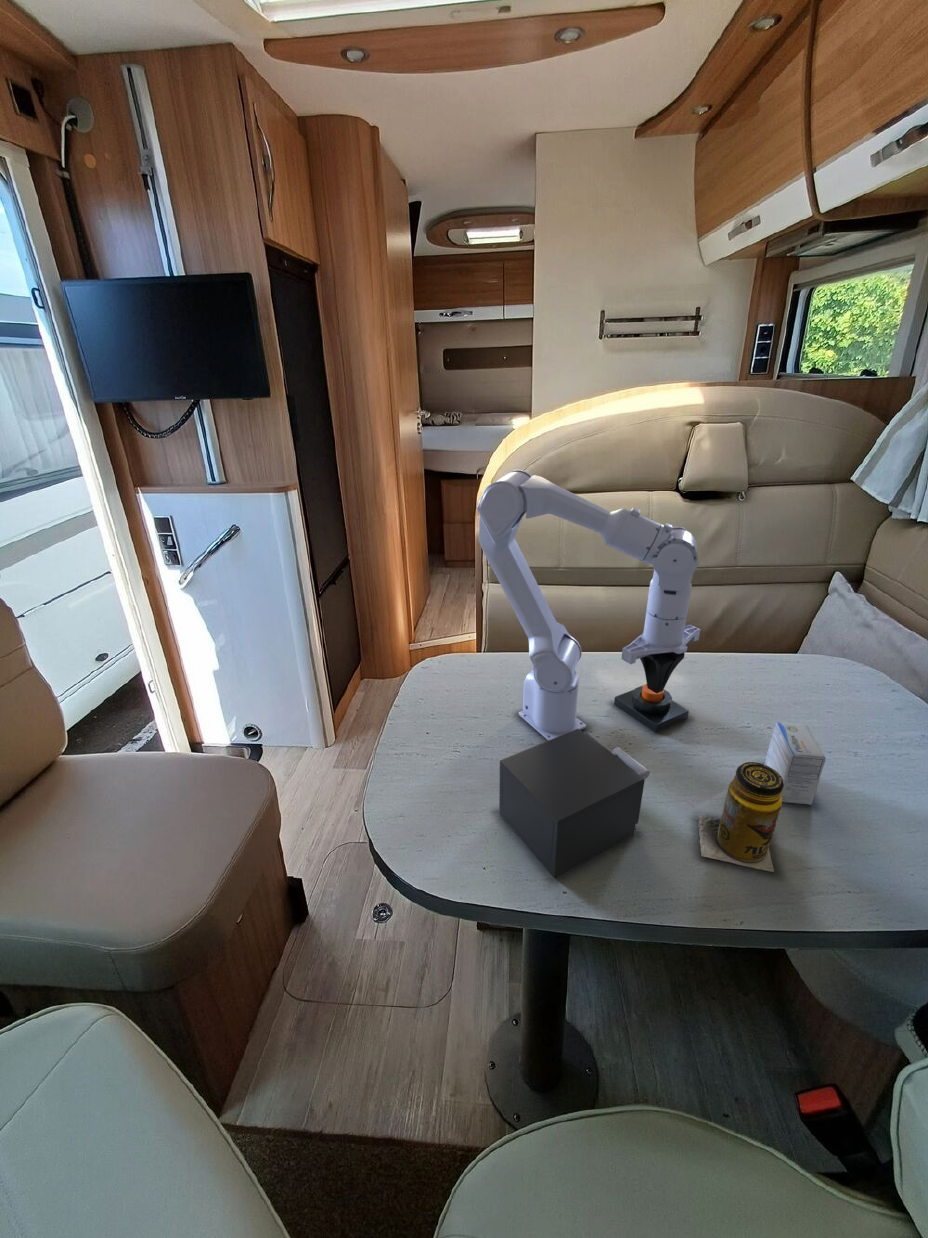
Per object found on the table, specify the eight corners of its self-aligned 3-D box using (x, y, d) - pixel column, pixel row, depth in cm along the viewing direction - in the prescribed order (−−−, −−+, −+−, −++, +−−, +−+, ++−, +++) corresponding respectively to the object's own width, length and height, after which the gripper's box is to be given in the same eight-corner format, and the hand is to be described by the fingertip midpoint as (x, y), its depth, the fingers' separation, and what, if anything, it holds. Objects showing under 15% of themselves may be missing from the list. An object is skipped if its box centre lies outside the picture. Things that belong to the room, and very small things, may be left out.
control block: (613, 704, 103) (615, 688, 101) (645, 691, 106) (647, 676, 105) (655, 733, 95) (657, 716, 93) (687, 718, 98) (690, 702, 97)
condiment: (773, 873, 69) (797, 800, 64) (701, 857, 72) (717, 785, 66) (764, 829, 75) (784, 759, 70) (697, 816, 78) (712, 747, 73)
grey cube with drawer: (573, 779, 85) (578, 728, 81) (634, 834, 75) (642, 779, 71) (499, 813, 79) (499, 760, 75) (554, 878, 69) (558, 821, 65)
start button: (637, 695, 100) (638, 686, 99) (651, 689, 101) (652, 681, 101) (652, 705, 97) (653, 696, 96) (667, 699, 99) (668, 690, 98)
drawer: (603, 764, 87) (608, 723, 83) (660, 811, 78) (667, 767, 74) (515, 805, 79) (516, 762, 76) (566, 862, 70) (569, 816, 67)
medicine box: (811, 806, 79) (828, 758, 75) (777, 802, 80) (792, 754, 76) (794, 769, 86) (808, 723, 82) (762, 766, 87) (775, 720, 83)
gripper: (651, 634, 76) (640, 716, 82) (722, 610, 82) (706, 688, 88) (615, 615, 82) (606, 693, 87) (684, 594, 88) (671, 668, 94)
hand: (654, 689), depth 88 cm, fingers closed
